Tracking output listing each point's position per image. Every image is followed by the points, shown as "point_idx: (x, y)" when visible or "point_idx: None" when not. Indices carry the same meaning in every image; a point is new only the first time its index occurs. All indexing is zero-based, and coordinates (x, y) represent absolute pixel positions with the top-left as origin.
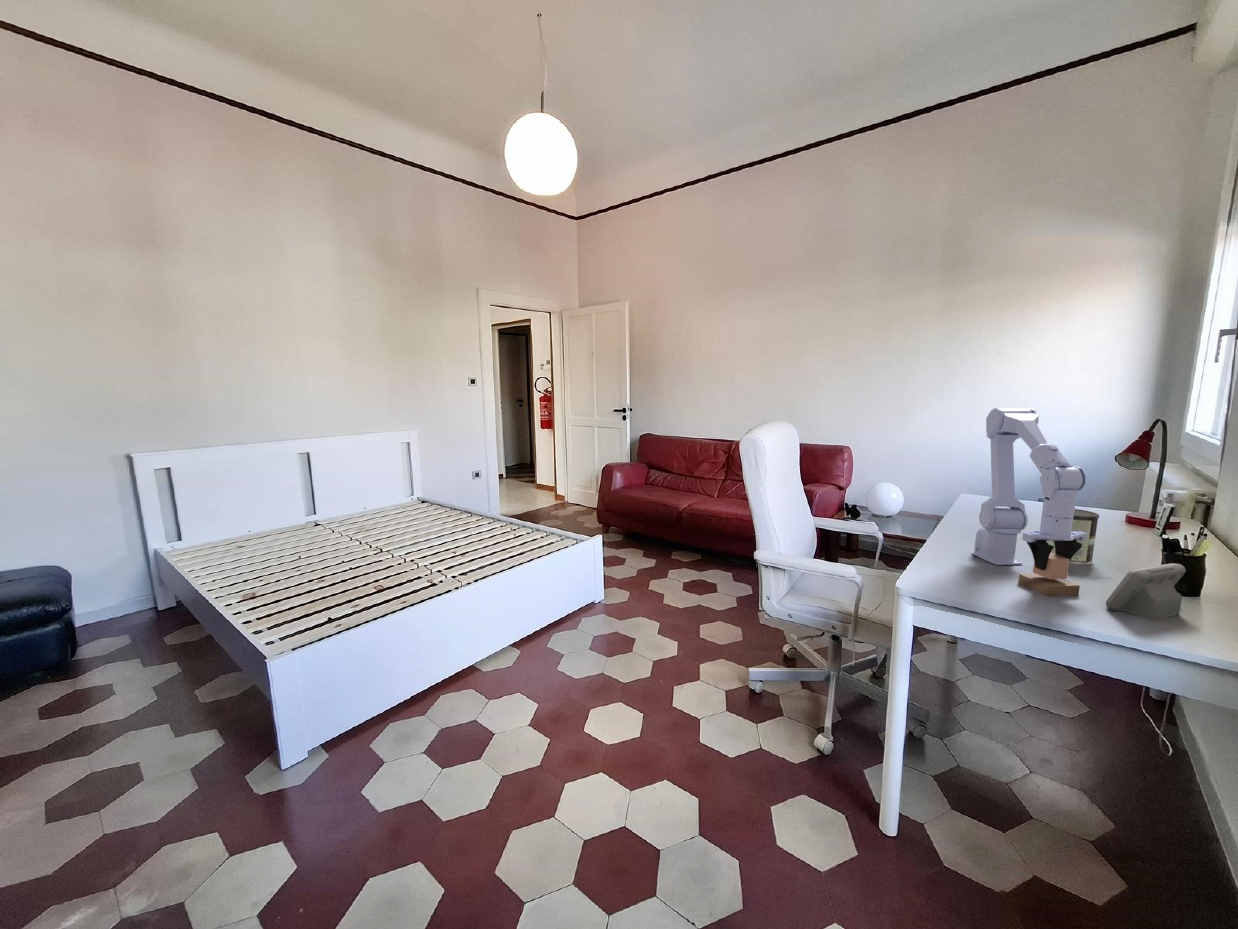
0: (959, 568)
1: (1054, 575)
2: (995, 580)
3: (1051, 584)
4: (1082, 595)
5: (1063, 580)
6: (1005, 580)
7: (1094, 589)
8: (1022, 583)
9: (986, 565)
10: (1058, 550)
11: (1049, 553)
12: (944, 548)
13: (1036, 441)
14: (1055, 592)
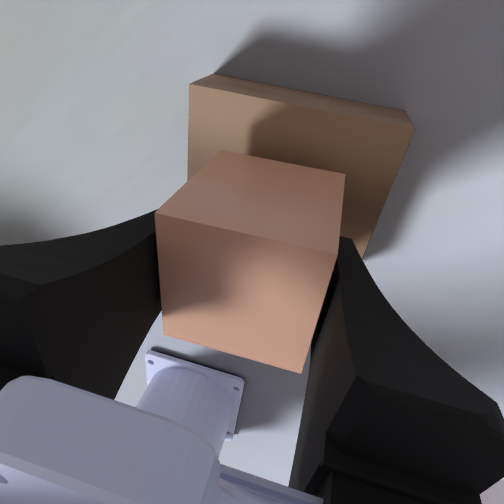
0: None
1: (310, 177)
2: (409, 316)
3: (349, 147)
4: (188, 71)
5: None
6: None
7: (70, 116)
8: None
9: (274, 388)
10: (136, 331)
11: (353, 320)
12: (265, 475)
13: None
14: (353, 105)
